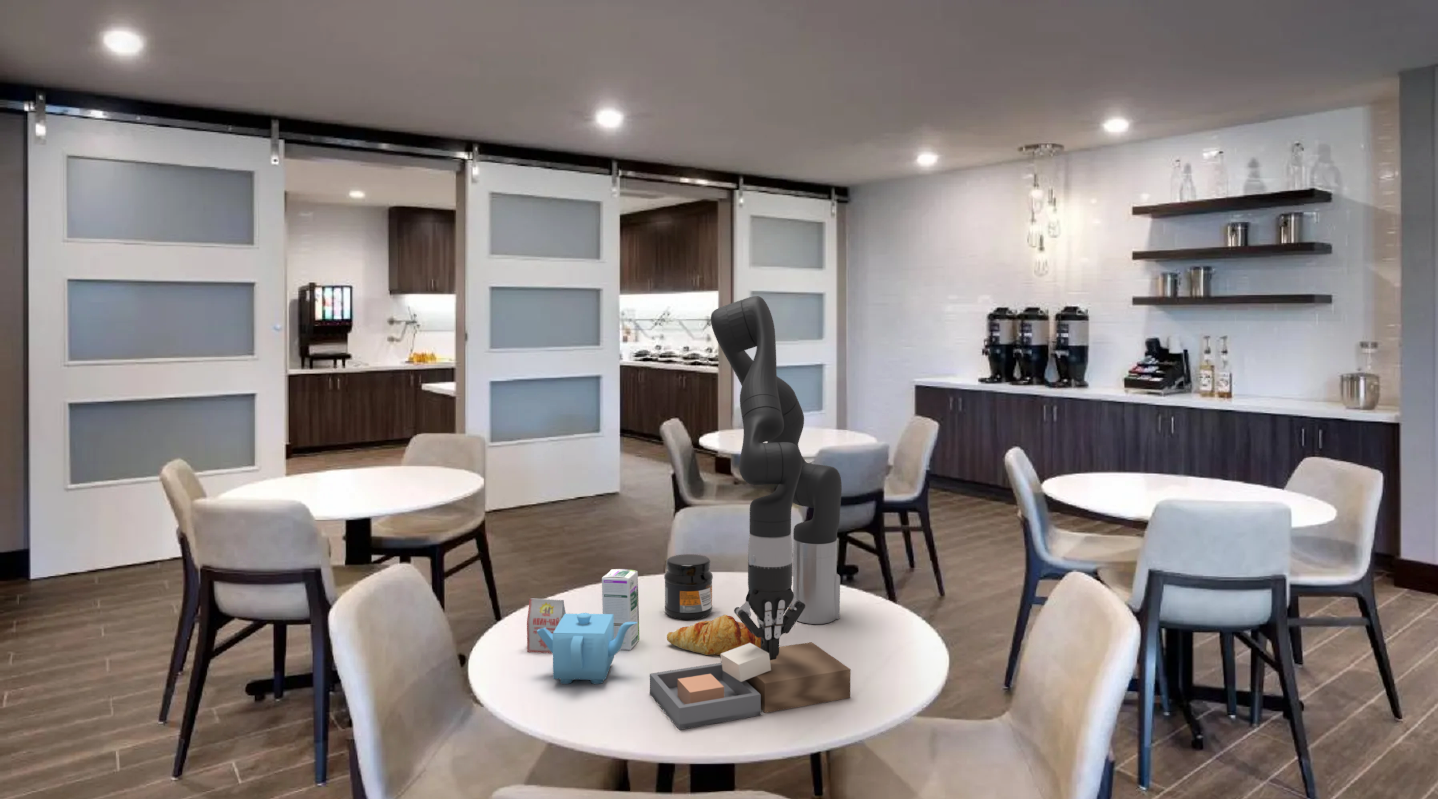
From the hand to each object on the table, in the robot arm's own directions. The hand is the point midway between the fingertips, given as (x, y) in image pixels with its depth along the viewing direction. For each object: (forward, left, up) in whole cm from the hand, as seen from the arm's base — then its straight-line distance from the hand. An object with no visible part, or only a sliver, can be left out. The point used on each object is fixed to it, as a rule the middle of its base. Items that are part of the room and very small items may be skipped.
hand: (769, 658), depth 156 cm
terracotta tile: (+13, 0, -2) cm, 13 cm away
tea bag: (+31, -35, -6) cm, 47 cm away
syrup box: (+17, -32, -6) cm, 37 cm away
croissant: (0, -24, -7) cm, 24 cm away
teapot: (+27, -19, -6) cm, 34 cm away
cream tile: (+5, 0, -1) cm, 5 cm away
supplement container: (-2, -45, -6) cm, 46 cm away
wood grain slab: (-4, 0, -6) cm, 7 cm away
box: (+12, 0, -6) cm, 14 cm away
